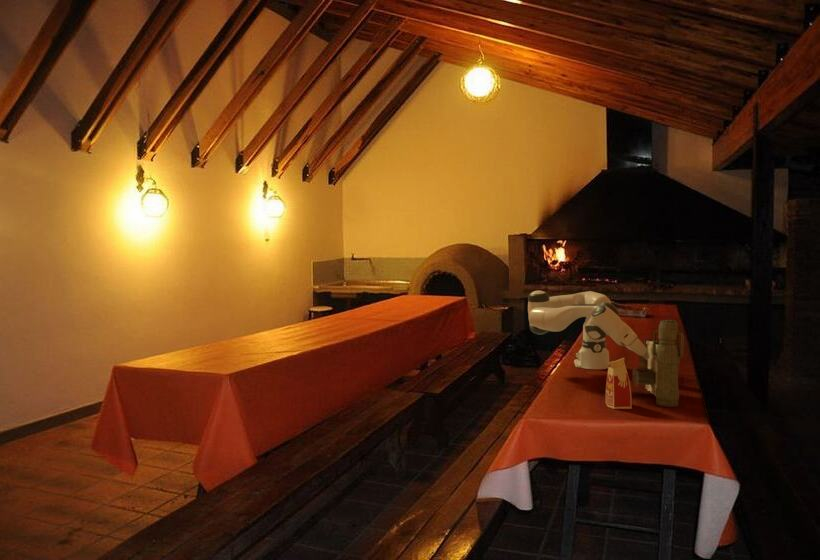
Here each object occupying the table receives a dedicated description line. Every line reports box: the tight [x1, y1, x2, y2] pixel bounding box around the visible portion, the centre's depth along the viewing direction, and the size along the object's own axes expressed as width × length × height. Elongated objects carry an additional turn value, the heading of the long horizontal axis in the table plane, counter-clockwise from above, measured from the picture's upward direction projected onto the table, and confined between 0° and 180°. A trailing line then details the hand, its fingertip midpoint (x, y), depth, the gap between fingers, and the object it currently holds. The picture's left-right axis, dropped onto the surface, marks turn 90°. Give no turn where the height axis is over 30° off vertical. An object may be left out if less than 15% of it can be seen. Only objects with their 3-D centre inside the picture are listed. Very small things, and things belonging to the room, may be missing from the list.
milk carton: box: [605, 357, 633, 410], centre depth 263 cm, size 9×9×20 cm
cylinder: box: [638, 342, 648, 372], centre depth 280 cm, size 4×4×16 cm
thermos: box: [652, 318, 685, 408], centre depth 263 cm, size 9×12×35 cm
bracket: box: [632, 341, 658, 397], centre depth 280 cm, size 16×9×22 cm, turn 1°
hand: (645, 357), depth 280 cm, fingers open, 4 cm apart
